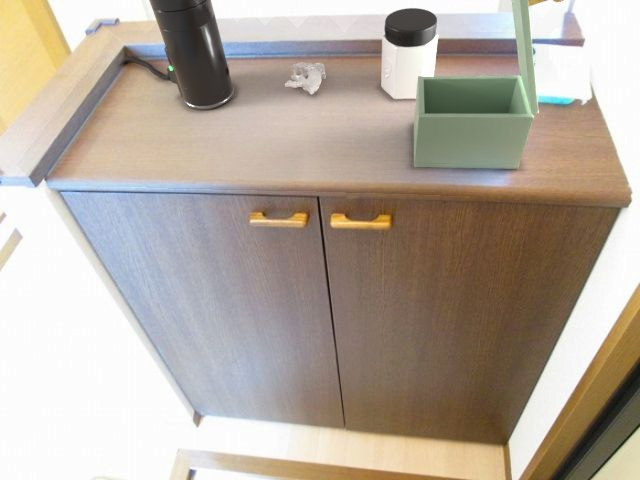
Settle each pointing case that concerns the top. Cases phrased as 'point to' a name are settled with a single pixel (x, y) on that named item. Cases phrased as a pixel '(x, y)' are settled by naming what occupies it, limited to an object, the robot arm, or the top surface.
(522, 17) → the lid
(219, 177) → the top surface
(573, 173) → the top surface
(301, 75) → the pelvis model
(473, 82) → the chest
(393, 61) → the jar
